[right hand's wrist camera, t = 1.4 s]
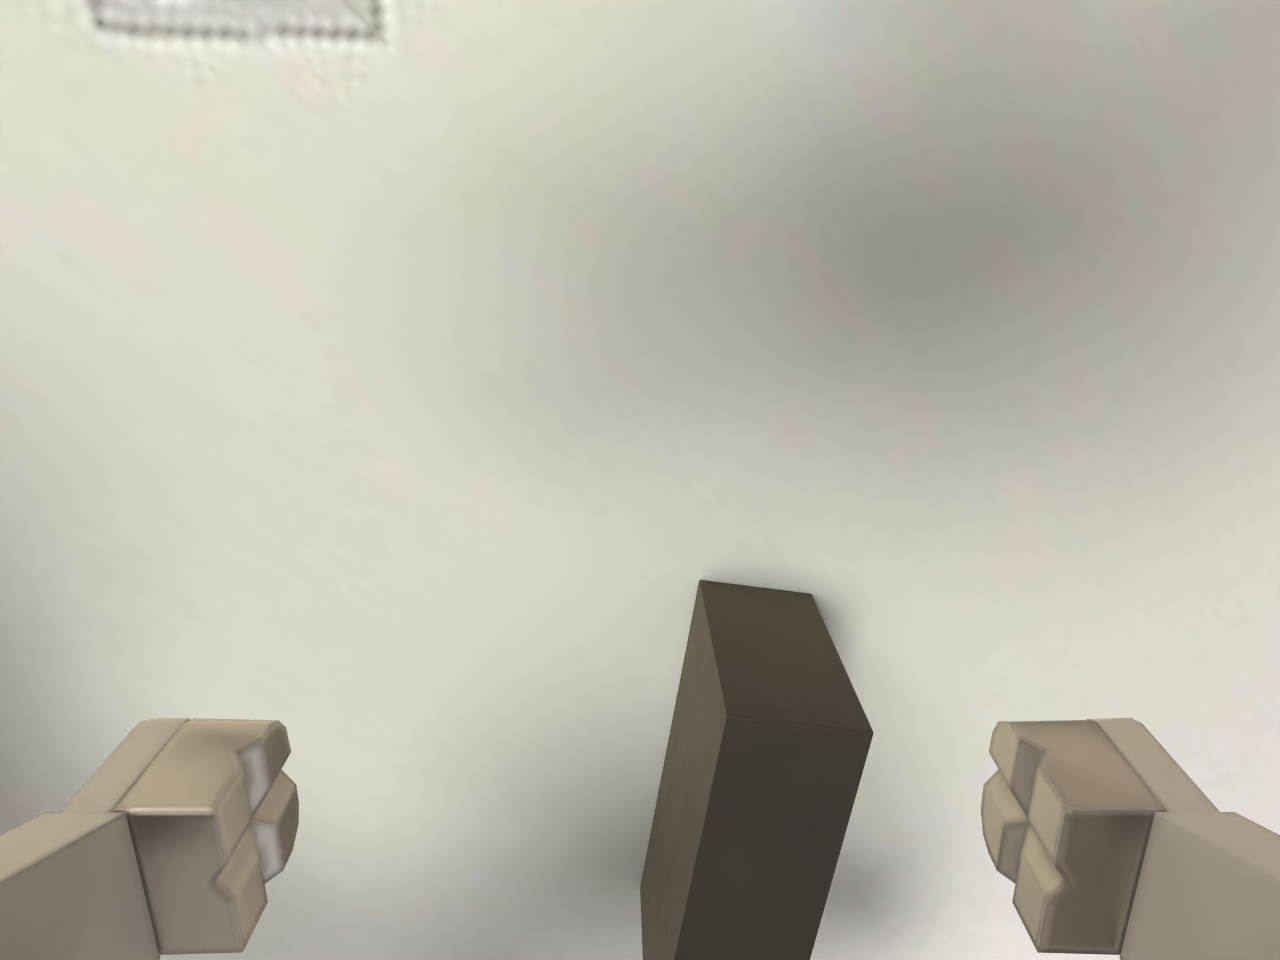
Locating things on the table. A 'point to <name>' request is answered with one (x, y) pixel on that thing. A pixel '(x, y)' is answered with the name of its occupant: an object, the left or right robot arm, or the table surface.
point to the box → (752, 782)
